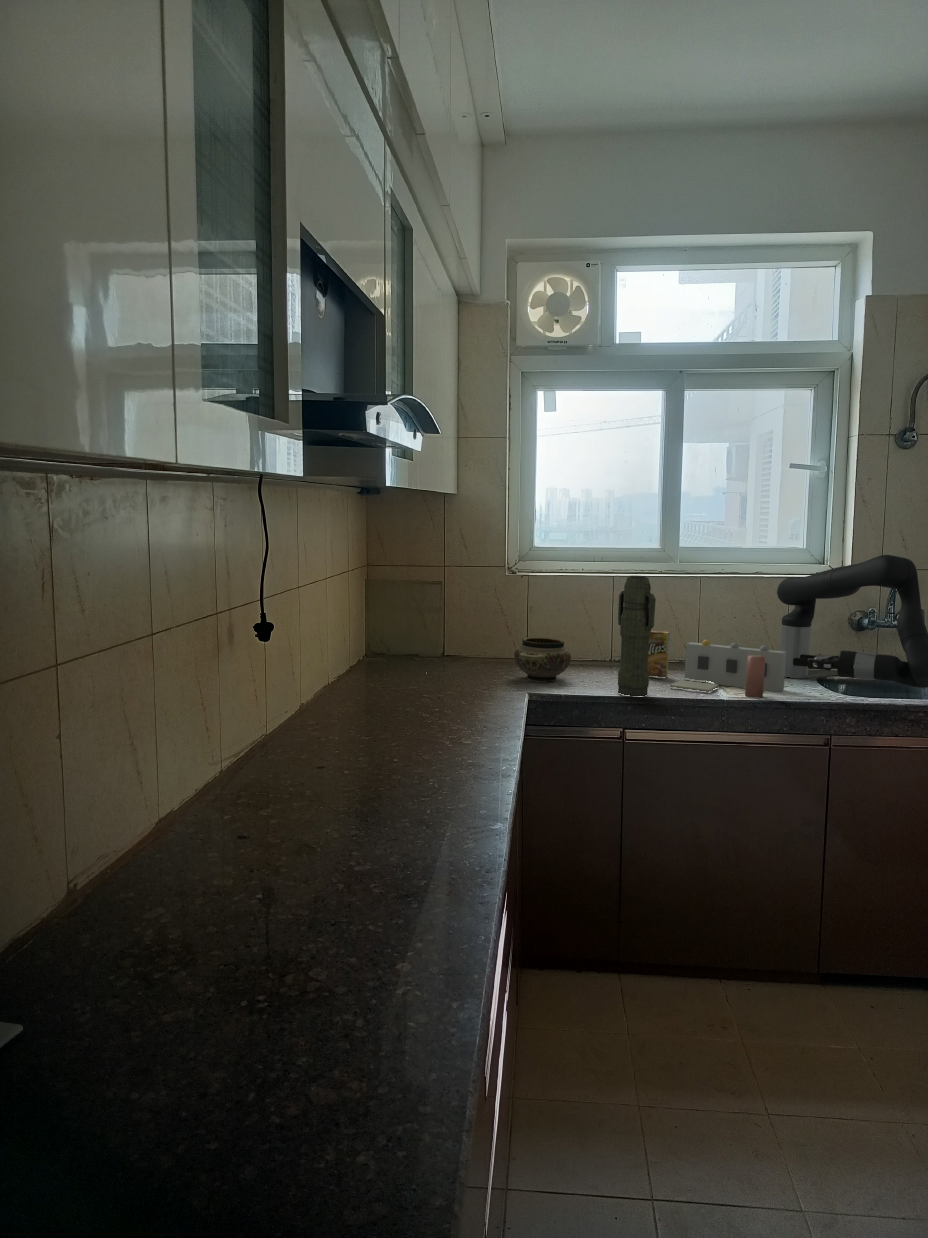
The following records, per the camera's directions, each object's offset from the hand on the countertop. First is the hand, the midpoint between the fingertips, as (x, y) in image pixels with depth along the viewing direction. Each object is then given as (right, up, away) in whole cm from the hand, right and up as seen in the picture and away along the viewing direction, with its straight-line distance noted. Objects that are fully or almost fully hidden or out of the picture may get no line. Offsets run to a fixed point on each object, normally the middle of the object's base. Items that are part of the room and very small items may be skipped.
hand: (796, 659), depth 249 cm
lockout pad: (-25, -10, +17) cm, 32 cm away
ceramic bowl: (-71, -8, +27) cm, 76 cm away
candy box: (-34, -8, +35) cm, 49 cm away
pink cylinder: (-10, -11, +8) cm, 17 cm away
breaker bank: (-11, -9, +24) cm, 28 cm away
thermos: (-46, -11, +7) cm, 48 cm away
